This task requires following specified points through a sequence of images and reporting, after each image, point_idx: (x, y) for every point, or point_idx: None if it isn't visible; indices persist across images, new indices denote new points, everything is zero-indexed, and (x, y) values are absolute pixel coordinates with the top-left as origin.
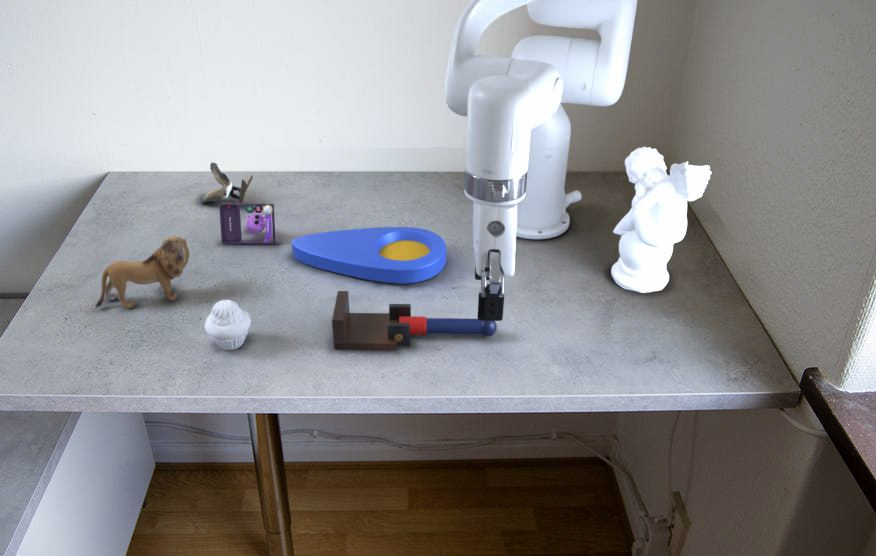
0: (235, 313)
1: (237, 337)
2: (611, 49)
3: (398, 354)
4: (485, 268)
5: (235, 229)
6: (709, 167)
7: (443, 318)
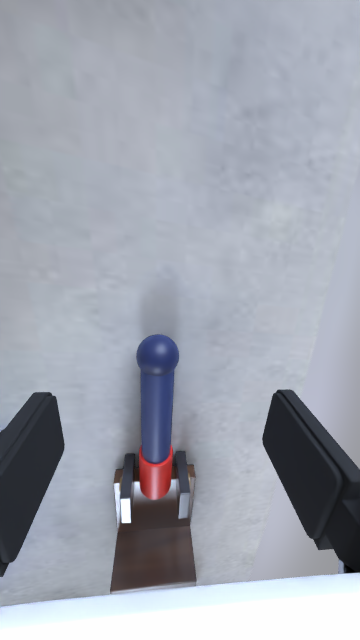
0: None
1: None
2: None
3: (202, 461)
4: (38, 470)
5: None
6: None
7: (149, 439)
